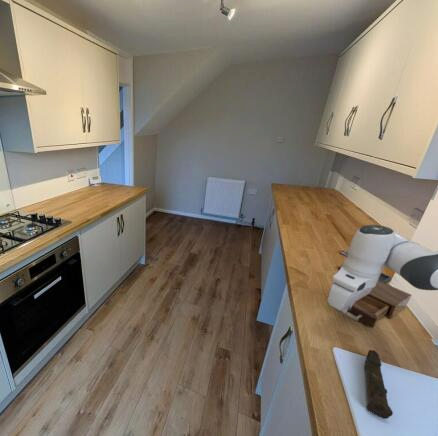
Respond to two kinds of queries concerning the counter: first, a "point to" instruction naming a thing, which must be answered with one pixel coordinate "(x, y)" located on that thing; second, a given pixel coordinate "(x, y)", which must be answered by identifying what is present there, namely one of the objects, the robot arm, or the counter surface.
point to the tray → (382, 277)
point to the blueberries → (344, 252)
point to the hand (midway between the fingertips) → (344, 310)
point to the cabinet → (390, 297)
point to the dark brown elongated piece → (376, 386)
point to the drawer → (367, 310)
